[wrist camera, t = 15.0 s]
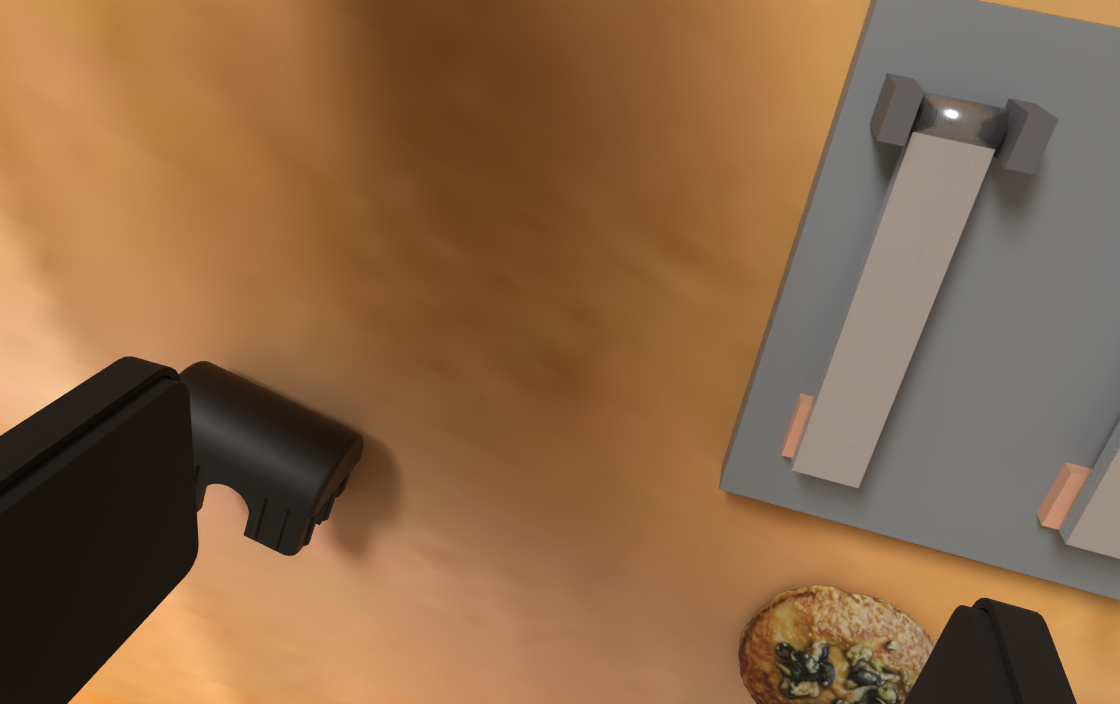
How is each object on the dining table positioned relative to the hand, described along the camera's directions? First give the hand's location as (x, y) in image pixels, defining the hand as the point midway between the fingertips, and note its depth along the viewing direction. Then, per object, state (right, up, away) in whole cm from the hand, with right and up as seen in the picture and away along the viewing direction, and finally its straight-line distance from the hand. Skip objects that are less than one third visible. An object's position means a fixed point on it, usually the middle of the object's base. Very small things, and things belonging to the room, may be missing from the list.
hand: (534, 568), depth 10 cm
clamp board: (+20, +4, +27) cm, 34 cm away
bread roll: (+16, -14, +38) cm, 44 cm away
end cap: (-16, -1, +40) cm, 43 cm away
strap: (+14, +5, +25) cm, 29 cm away
